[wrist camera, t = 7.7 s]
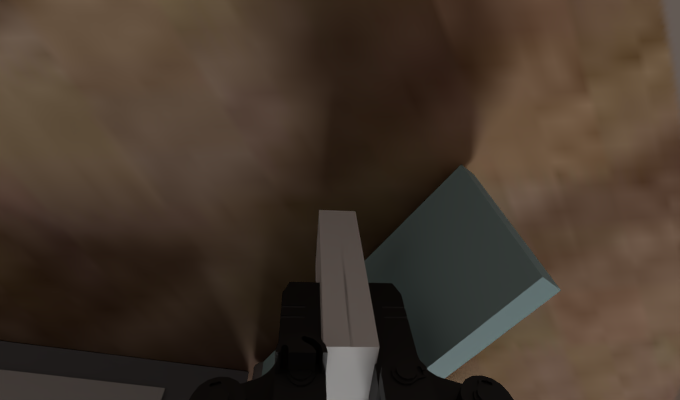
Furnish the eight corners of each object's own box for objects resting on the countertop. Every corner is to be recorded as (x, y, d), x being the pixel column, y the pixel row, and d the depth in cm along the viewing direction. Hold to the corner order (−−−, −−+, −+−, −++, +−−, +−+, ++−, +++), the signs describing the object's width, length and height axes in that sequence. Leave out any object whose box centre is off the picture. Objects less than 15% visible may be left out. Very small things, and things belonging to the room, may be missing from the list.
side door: (457, 161, 17) (538, 273, 11) (489, 187, 18) (582, 306, 12) (249, 371, 23) (226, 521, 17) (280, 384, 23) (268, 533, 17)
